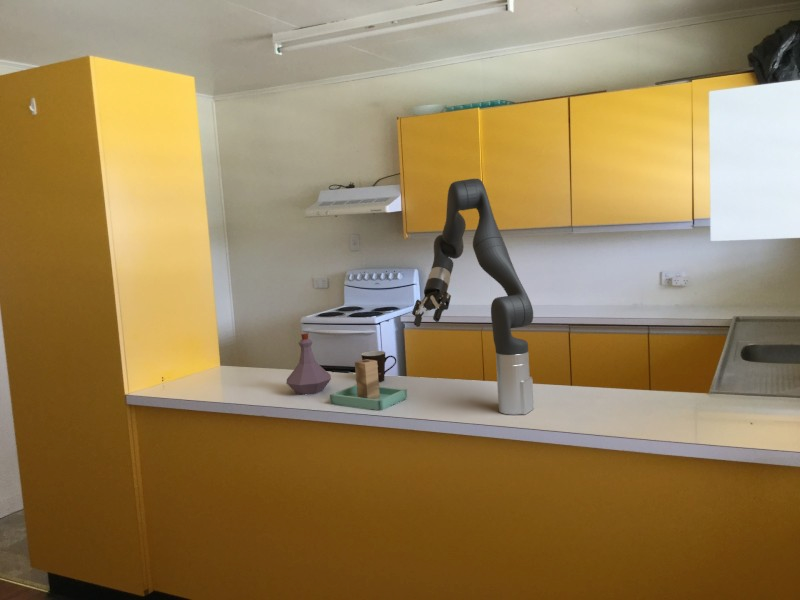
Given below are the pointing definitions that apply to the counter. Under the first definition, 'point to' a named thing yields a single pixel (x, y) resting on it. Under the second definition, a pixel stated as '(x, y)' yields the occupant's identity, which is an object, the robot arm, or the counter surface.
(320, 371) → the flask
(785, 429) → the counter surface
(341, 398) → the green tray
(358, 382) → the tan wooden tall block
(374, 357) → the coffee mug
